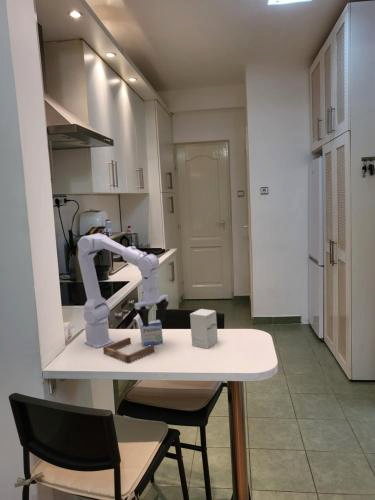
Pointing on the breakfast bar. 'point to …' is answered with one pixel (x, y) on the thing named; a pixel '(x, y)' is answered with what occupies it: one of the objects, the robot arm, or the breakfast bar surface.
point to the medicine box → (151, 333)
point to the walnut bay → (112, 352)
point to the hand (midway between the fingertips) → (153, 323)
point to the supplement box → (203, 328)
